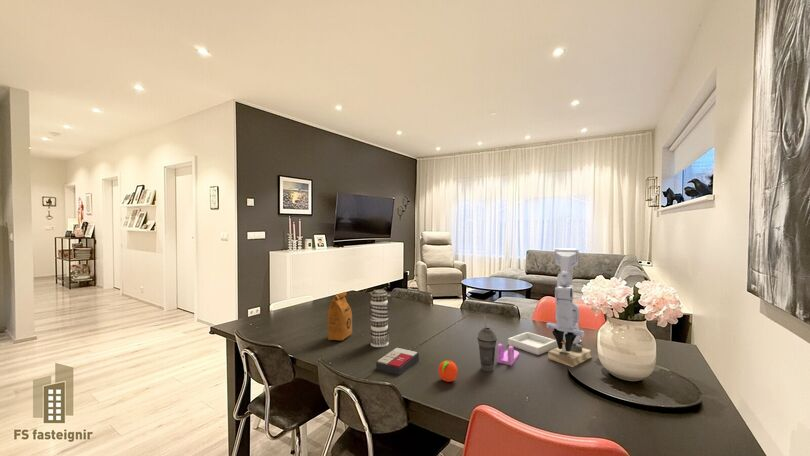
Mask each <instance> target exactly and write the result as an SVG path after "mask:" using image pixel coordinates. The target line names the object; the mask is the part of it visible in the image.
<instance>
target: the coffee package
mask: <svg viewBox="0 0 810 456" xmlns="http://www.w3.org/2000/svg"><path fill="white" fill-rule="evenodd" d="M347 295H348V293H347V292H346V291H343V292H341V293H338V294H336V295H334V296H333V299H332V300H331V302H330V303H329V306H328V308H327V309H328V311H327V340H328V341H339V342H340V341H344V340H345V339H346V338H348V337H350V336H351V335H352V333H353V314H352V313H353V312H352V309H351V307H350V305H349V303H348V302H347V299H346V298H347V297H345V296H347Z"/></svg>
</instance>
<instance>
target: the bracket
mask: <svg viewBox="0 0 810 456" xmlns="http://www.w3.org/2000/svg"><path fill="white" fill-rule="evenodd" d="M504 348H505V347H504V344H503V343H498V344H497V350H496V352H497V353H496V355H497V356H496V357H497V360H496V362H497V363H500V364H503V365H506V366H507V365H508V366H513V364H514V363H515V362H516V361H517V360H518V359H519V357H520V352H519V351H518V350H515V347H513V346H510V345H508V347H507V349H506V350H505V349H504Z"/></svg>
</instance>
